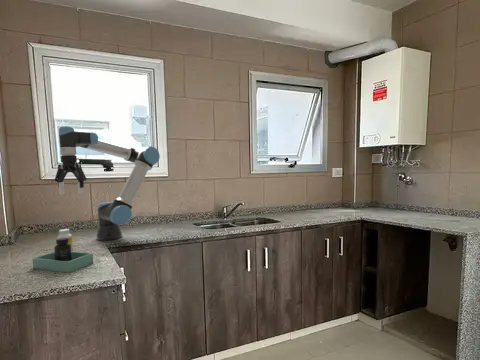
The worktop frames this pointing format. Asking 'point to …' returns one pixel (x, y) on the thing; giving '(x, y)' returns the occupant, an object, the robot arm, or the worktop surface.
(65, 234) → the supplement bottle
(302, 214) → the worktop surface
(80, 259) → the green tray
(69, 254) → the supplement bottle
